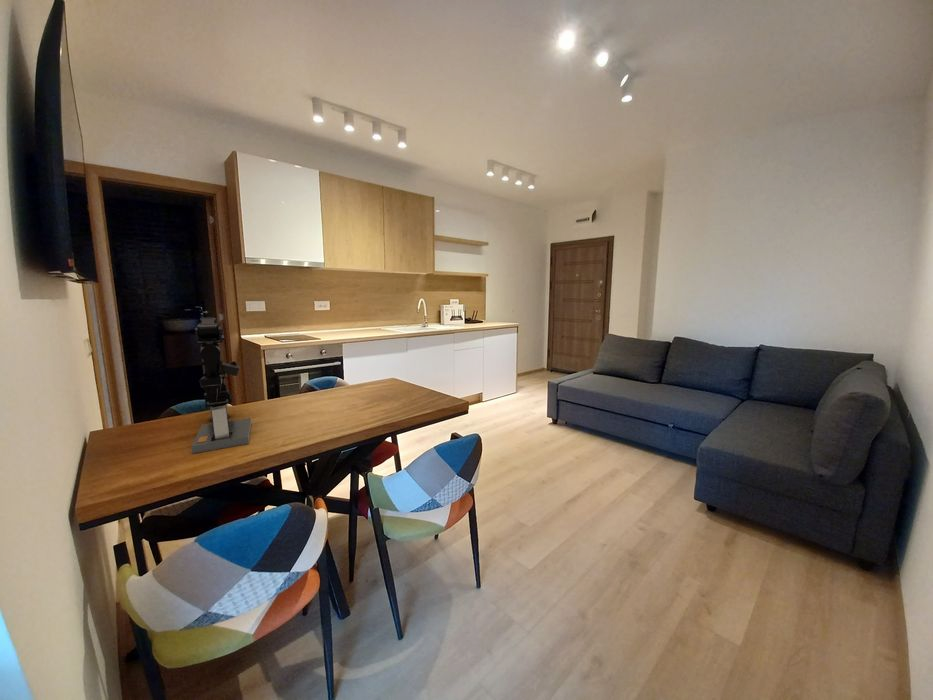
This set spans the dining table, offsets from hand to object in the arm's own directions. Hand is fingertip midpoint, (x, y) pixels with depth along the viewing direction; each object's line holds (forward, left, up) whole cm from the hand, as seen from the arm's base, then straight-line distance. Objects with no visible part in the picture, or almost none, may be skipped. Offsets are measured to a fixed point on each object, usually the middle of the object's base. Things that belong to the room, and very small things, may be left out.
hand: (216, 398), depth 134 cm
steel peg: (+13, +2, -13) cm, 19 cm away
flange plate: (+7, +2, -13) cm, 15 cm away
